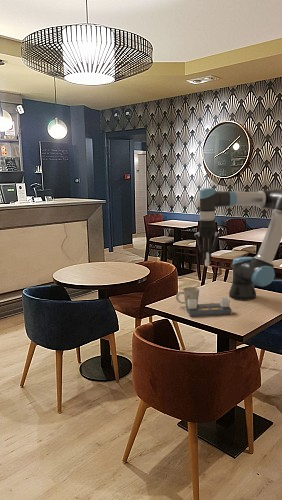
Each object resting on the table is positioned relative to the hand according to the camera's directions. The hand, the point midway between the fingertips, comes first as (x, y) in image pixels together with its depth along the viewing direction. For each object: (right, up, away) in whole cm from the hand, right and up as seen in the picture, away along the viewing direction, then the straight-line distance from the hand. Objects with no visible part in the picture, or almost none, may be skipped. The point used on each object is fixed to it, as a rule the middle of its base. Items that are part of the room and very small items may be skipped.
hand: (207, 265), depth 200 cm
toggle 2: (+10, -21, +3) cm, 23 cm away
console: (+1, -24, +3) cm, 24 cm away
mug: (-8, -23, +13) cm, 27 cm away
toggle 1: (-7, -21, +2) cm, 23 cm away
